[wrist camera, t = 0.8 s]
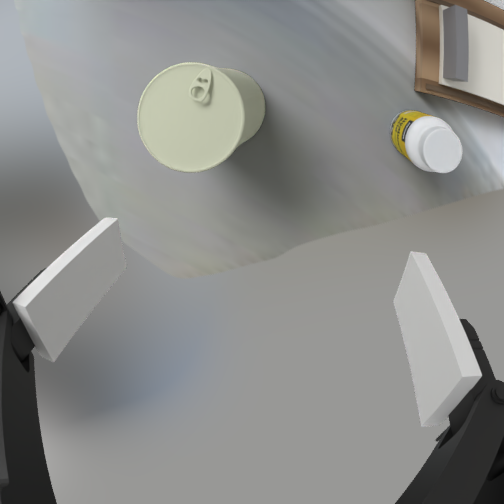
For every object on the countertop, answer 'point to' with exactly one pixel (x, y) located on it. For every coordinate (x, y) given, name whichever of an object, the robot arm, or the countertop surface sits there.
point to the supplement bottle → (426, 141)
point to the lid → (471, 54)
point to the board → (430, 49)
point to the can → (198, 115)
